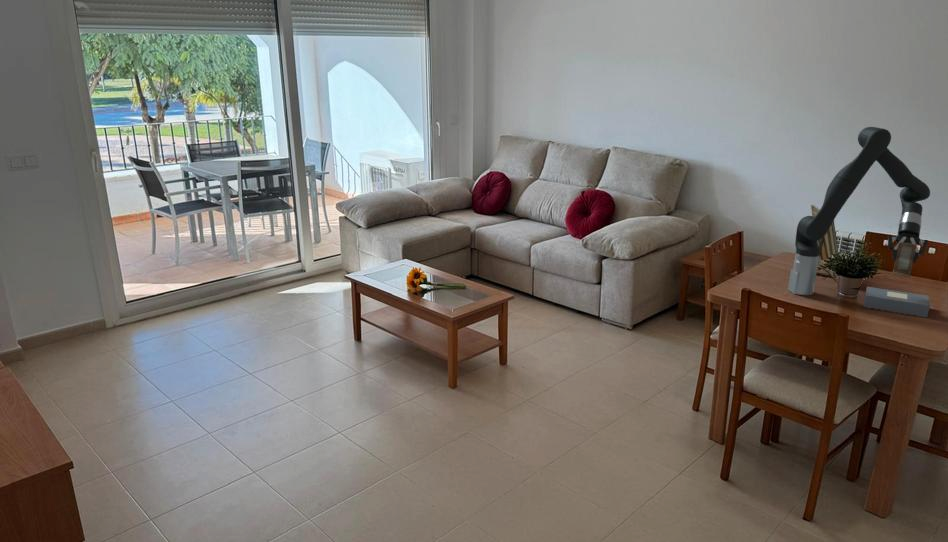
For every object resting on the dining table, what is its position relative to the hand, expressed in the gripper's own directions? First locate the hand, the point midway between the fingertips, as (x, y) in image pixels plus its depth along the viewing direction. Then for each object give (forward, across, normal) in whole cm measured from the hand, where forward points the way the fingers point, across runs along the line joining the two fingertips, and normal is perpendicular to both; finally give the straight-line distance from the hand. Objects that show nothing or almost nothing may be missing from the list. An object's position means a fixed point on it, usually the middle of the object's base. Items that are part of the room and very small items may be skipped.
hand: (904, 260), depth 271 cm
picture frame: (-12, -30, +41) cm, 52 cm away
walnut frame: (+3, 0, +6) cm, 7 cm away
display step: (+13, 0, +15) cm, 20 cm away
